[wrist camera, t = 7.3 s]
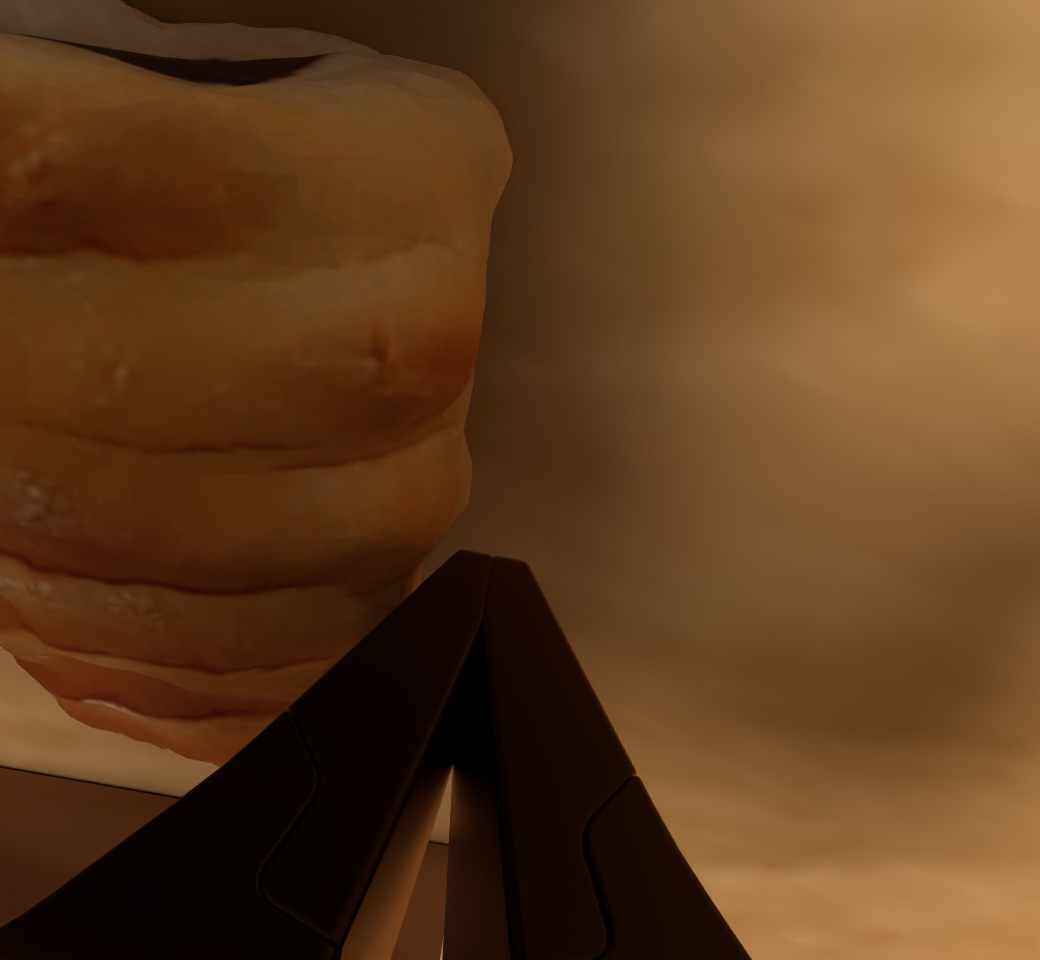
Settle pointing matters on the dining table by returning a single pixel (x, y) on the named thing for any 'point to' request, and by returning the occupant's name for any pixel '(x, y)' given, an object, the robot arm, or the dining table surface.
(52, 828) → the box
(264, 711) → the pastry
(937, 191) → the dining table surface
